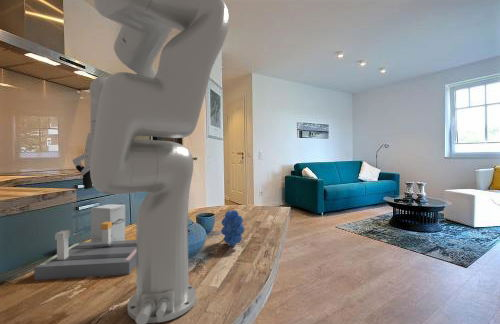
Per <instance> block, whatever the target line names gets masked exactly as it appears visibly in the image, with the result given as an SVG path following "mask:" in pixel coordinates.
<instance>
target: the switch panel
mask: <svg viewBox="0 0 500 324" xmlns="http://www.w3.org/2000/svg"><path fill="white" fill-rule="evenodd" d="M70 236H71V230H70V229H67V230H66V229H65V230H60V231H59V232H56V233H54V240H55V241H56V254H55V255H53V256H51V257H50V258H48V259H46V260H44V261H42V262H41V263H39V264H37V265H35V266H34V267H33V274H34V277H33V278H34V279H33V280H35V281H39V280H41V281H42V280H56V279H73V278H90V277H91V278H93V277H104V276H106V277H108V276H121V275H130V274H131V273H132V272H133V270H134V269H136V268H135V267H137V258H136V239H133V240H132V239H131V240H126V239H125V240H124V241H113V244H111V245H110V246H100V244H102V242H91V241H86V242H85V241H84V242H83V241H82V242H81V241H79V242H75V243H74V244H72V245H70V246H69V238H70Z"/></svg>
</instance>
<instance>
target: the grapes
mask: <svg viewBox="0 0 500 324" xmlns="http://www.w3.org/2000/svg"><path fill="white" fill-rule="evenodd" d="M243 222H244V218H243V216H242V215H240V214H239V211H237V209H232V210H228V211H226V212H225V214H224V218H222V220H221V225H222V226H223V227H222V228H221V231H220V233H221V234H222V235H224V237H223V241H224V242H225V243H226V244H229V246H230V247H235V246H236V245H237V244H240V243H241V242H242V240H243V237H242V235H243V234H244V232H245V227H244V224H243Z"/></svg>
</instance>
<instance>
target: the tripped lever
mask: <svg viewBox="0 0 500 324" xmlns="http://www.w3.org/2000/svg"><path fill="white" fill-rule="evenodd" d="M111 227H112V222H104V223H102V224H101V230H102V244H100V246H110V245H111V244H113V241H111Z"/></svg>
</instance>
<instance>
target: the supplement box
mask: <svg viewBox="0 0 500 324" xmlns="http://www.w3.org/2000/svg"><path fill="white" fill-rule="evenodd" d="M90 220H91V221H90V242H102V230H101V224H102V223H104V222H112V227H111V241H126V204H115V203H113V204H111V203H110V204H104V205H97V206H94V207H91V208H90Z"/></svg>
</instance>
